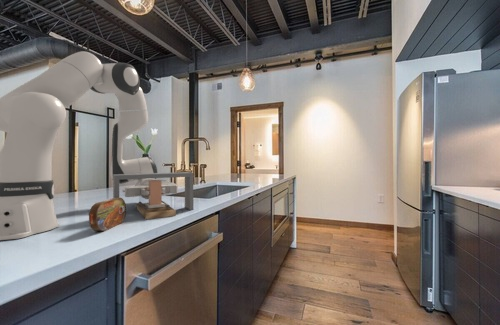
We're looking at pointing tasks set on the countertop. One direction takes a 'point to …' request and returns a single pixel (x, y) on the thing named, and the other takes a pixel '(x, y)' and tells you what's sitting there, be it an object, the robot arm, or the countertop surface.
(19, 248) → the countertop surface
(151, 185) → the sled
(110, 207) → the tin
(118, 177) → the archway
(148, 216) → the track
